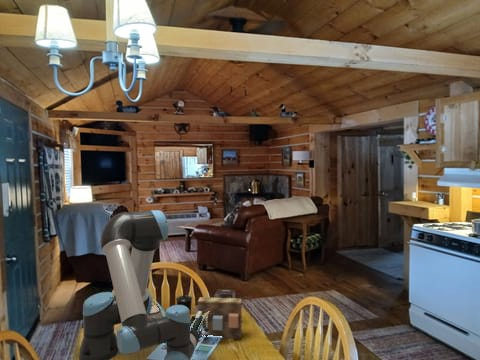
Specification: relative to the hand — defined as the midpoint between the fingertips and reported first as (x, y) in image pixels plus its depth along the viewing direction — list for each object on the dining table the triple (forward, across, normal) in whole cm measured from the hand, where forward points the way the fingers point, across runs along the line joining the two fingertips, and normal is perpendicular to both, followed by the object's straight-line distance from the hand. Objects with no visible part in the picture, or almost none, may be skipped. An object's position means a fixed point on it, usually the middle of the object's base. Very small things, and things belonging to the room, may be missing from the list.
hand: (200, 314), depth 144 cm
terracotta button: (+13, +12, -9) cm, 20 cm away
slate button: (+10, +6, -9) cm, 15 cm away
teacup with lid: (+20, -26, -15) cm, 36 cm away
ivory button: (+10, -1, -9) cm, 13 cm away
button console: (+15, +6, -15) cm, 22 cm away
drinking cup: (+22, -12, -15) cm, 29 cm away
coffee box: (+26, +7, -16) cm, 31 cm away
